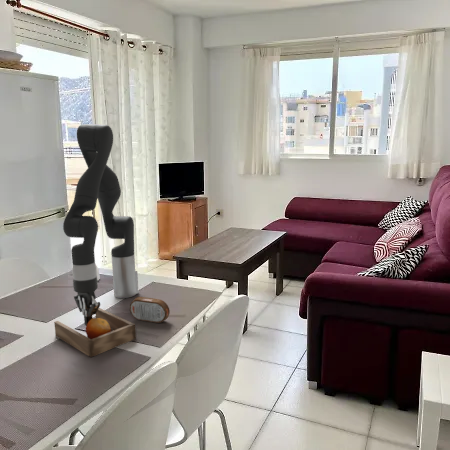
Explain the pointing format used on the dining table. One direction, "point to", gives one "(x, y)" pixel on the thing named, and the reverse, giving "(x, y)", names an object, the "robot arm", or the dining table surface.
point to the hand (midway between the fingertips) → (88, 325)
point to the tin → (149, 309)
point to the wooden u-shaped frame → (95, 346)
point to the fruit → (97, 328)
